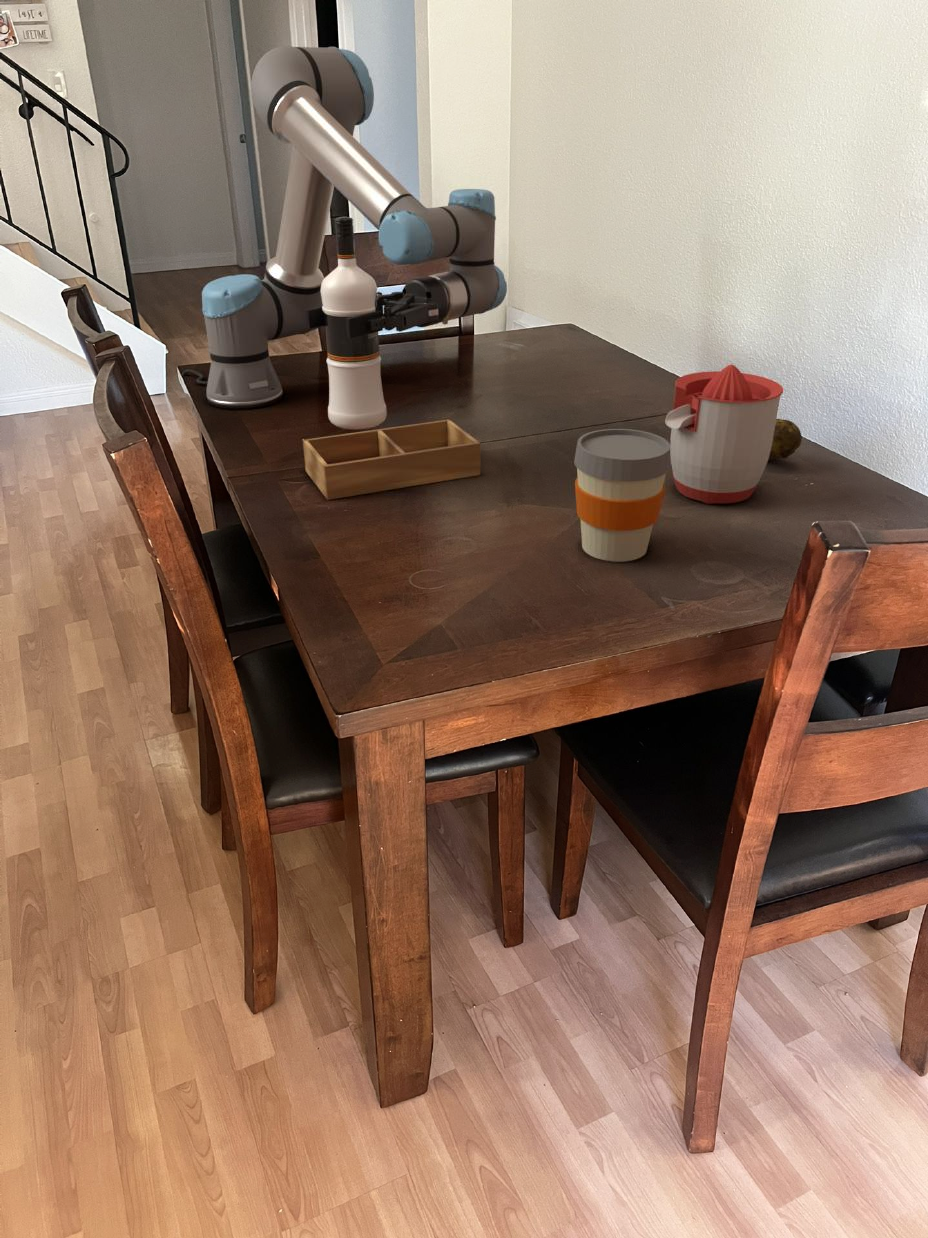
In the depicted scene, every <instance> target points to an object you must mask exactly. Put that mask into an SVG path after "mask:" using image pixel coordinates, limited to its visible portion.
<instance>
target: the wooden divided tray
mask: <svg viewBox="0 0 928 1238" xmlns="http://www.w3.org/2000/svg"><path fill="white" fill-rule="evenodd" d="M302 448H303V457H304V469H305V473H307V475H308V476H309V478H310V479H311V480H312V481H313V483H314V484H315V485H316V487H317V488H318V489H319V491H320V492H321V493H322V495H323V496H324V497H325V499H326V500H327V501H329V500H337V499H343V498H348V497H354V496H359V495H365V494H366V495H367V494H372V493H379V492H384V491H391V490H397V489H403V488H409V487H415V486H421V485H427V484H434V483H439V482H440V483H441V482H446V481H451V480H457V479H465V478H471V477H476V476H481V442H480V441H478V440H477V439H475V438H474V437H473V436H471V435H470V434H469V433H468V432H466V431H465V429H462V427H459V426H458V425H457V424H456V423H454V422H453V421H452V420H450V419H442V420H436V421H428V422H421V423H413V424H407V425H400V426H393V427H392V426H391V427H385V428H378V429H372V430H371V429H370V430H362V431H356V432H350V433H343V434H335V435H328V436H322V437H313V438H306V439H302Z"/></svg>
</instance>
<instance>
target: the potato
mask: <svg viewBox="0 0 928 1238" xmlns="http://www.w3.org/2000/svg"><path fill="white" fill-rule="evenodd" d="M802 439H803V437H802V432H801V430H800V428H799V427H798V425H797V424H795V423H794V422H793V421H792V420H789V419H781V418H776V424H775V429H774V435H773V441H772V446H771V451H770V455H769V459H768V461H769V460H776V459H783V460H786V459H787V458H789V457H790V456H792V455H793V454H794V453H796V451H797V449H799V448H800V446H801V444H802Z"/></svg>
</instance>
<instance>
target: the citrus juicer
mask: <svg viewBox="0 0 928 1238" xmlns="http://www.w3.org/2000/svg"><path fill="white" fill-rule="evenodd" d="M674 386H675V389H674V399H673V400H674V401H673V407H672V410H671V411H669V412H668V413H667V414H666V416H665V420H664V423H665V425H666V426H667V427H668V428H670V430H671V431H670V442H669V444H670V466H671V470H672V473H671V474H672V478H673V481H674V486H675V488H676V490H677V491H678V493H680V494H681V495H682V496H684V497H687V498H688V499H692V500H695V501H698V502H701V503H702V504H706V505H713V504H735V503H739V502H743V501H745V500H747V499H749V498H750V497H751V495H752V494H753V493H754V492H755V490H756V488H757V487H758V485H759V483H760V480H761V478H762V476H763V474H764V472H765V470H766V468H767V467H766V466H767V464H768V461H769V460H768V459H769V455H770V451H771V446H772V441H773V435H774V429H775V424H776V419H778V412H779V406H780V399H781V396H782V395H783V393H784V388H783V386H782V385H781V384H780V383H778V382H777V381H775V380H773V379H770V378H767V377H765V376H760V375H756V374H750V373H744V372H741V371H740V369H739V368H738V367H737V366H736V365H735V364H732V363H731V364H728V365H726V366H725V367H723V368H722V369H721V370H719V371H718V370H717V371H700V372H692V373H688V374H685V375H682V376H680V377H678V378H677V379H676V380H675V382H674Z"/></svg>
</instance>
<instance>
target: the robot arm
mask: <svg viewBox="0 0 928 1238" xmlns="http://www.w3.org/2000/svg"><path fill="white" fill-rule="evenodd" d="M251 75H252V76H251V80H250V81H251V82H250V83H251V84H250V93H251V99H252V103H253V106H254V109H255V110H256V113H257V116H258V117H259V119H260V121H262V123H263V125H264V126H265V127H266V128H267V129H268V130H269V132H270V133H271V134H272V135H274V137H276V138H277V139H278V140H279V141H280V142H281V143H284V144H286V145H287V144H289V145H290V144H292V145H293V146H292V152H291V158H290V164H289V169H288V176H287V183H286V189H285V195H284V202H283V207H282V215H281V221H280V227H279V234H278V240H277V246H276V250H275V251H276V252H275V256H274V257H271V258H270V259H268V261H267V262H266V265H265V272H264V276H263V277H264V278H263V279H261V278H259V276H257V275H255V274H247V273H246V274H235V275H228V276H227V275H226V276H223V277H220V278H217V279H213V280H212V281H210V282H208V283H207V284H205V286H204V287H203V289H202V290H201V302H202V303H201V304H202V308H201V311H202V314H203V318H204V325H205V330H206V337H207V345H208V349H209V359H210V367H209V373H208V379H207V381H205V380H204V379H205V376H204V375H203V374H202V373H201V372H199V371H197V370H194V369H190V368H189V369H185V370H183V371H182V373H181V376H186V375H187V374H193V375H195V376H197V379H196V380H195V381H196V383H197V384H198V385H203V386H206V400H207V404H209V405H211V406H213V407H216V408H221V409H229V410H244V409H254V408H255V409H257V408H260V407H266V406H269V405H272V404H275V403H277V402H279V401H280V400H281V399H282V398H283V396H284V395H283V388H282V385H281V384H282V383H281V382H280V379H279V377H278V375H277V372H276V370H275V368H274V366H273V363H272V361H271V358H270V352H269V351H270V349H269V342H270V341H276V340H279V339H283V338H288V337H292V336H296V335H305V334H309V333H310V332H312V331H315V330H317V329H319V328H321V327H325V317H324V311H323V310H322V306H323V303H322V297H321V291H320V290H321V284H322V281H323V280H324V278H325V277H324V275H323V272H322V271H321V269H320V268H319V267H320V262H321V261H320V260H321V256H322V251H323V246H324V241H325V236H326V231H327V225H328V220H329V216H330V210H331V205H332V200H333V195H334V189H336V190H337V191H339V193H341V195H343V197H344V198H345V199H346V200H348V202H350V204H351V205H353V207H354V208H355V209H356V210H357V211H358V212H360V214H361V215H363V217H364V218H365V219H366V220H367V221H368V222H369V223H371V224H372V226H373V227H374V228H375V229H376V230H378V243H379V247H380V248H381V249H382V252H383V255H384V256H385V258H386V259H387V260H388V261H389V262H390V263H392V264H395V265H398V266H404V265H412V266H413V265H420V264H422V263H426V262H431V261H435V260H441V259H446V258H447V259H448V258H449V259H448V260H449V271H443V272H440V273H433V274H430V275H426V276H421V277H416V278H412V279H410V280H409V281H407V282H406V283H405V285H404V286H403V288H402V290H401V291H393V292H391V293H387V294H383V292H381V291H377V292H376V298H377V311H376V312H372V313H367V314H363V315H358V316H354V317H349V318H346V330H347V338H354V337H358V336H362V335H366V334H370V333H374V332H378V333H379V332H382V331H384V330H385V331H387V332H388V331H392V330H394V329H395V331H396V332H399V333H400V332H401V333H402V332H403V331H407V330H410V329H412V328H414V327H417V328H426V327H430V326H434V325H437V324H440V323H442V325H448V324H449V321H452V320H457V319H460V318H465V317H468V316H474V315H483V314H485V313H487V312H489V311H492V310H494V309H496V308H498V307H499V306H500V305H501V304H502V303H503V302H504V300H505V299H506V296H507V291H508V284H507V281H506V279H505V274H504V272H503V271H502V269H500V267H498V266H497V265H495V238H496V237H495V236H496V220H497V217H496V204H495V199H496V198H495V195H494V193H493V191H491V190H488V189H481V188H458V189H454V190H452V191H451V192H450V193H449V195H448V203H447V205H443V206H436V207H427V206H425V205H423V203H421V201H420V200H419V199H417V198H416V197H415V196H414V195H413V194H412V193H411V192H410V191H409V190H408V189H407V188H406V187H405V186H404V185H403V184H402V183H401V182H399V180H398V179H396V178H395V176H393V175H392V173H391V172H390V171H389V170H387V169H386V168H385V167H384V166H383V164H381V163H380V162H379V161H378V159H376V157H374V156H373V155H372V154H371V153H370V152H369V151H368V150H367V149H366V148H365V147H364V146H363V145H362V144H361V143H360V142H359V141H358V140H357V139H356V138H355V137H354V133H355V127H356V126H360V125H362V124H363V123H365V121H367V120H368V119H369V118H370V116H371V114H372V111H373V108H374V102H375V90H374V84H373V79H372V77H371V76H370V72H369V69H368V66H367V65H366V63H365V62H364V60H362V58H361V57H360V56H359V55H358V54H357V53H355V52H354V51H352V50H350V49H344V48H338V47H336V46H328V47H315V46H314V47H312V46H311V47H309V46H292V45H291V46H290V45H283V46H278V47H274V48H272V49H271V50H269V51H267V52H266V53H265V54H263V56H262V57H261V58H260V59H259V60H258V62H257V63H256V65H255V67H254V70H253V73H252V74H251Z"/></svg>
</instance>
